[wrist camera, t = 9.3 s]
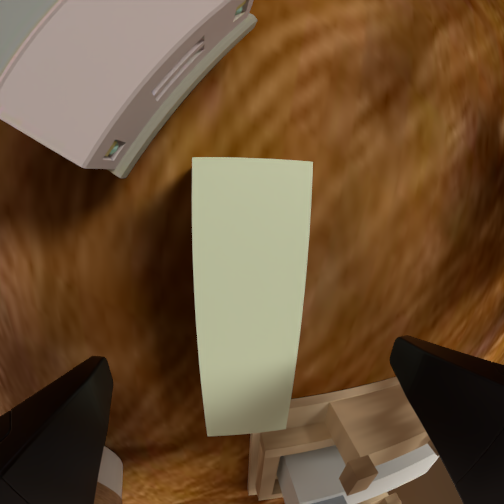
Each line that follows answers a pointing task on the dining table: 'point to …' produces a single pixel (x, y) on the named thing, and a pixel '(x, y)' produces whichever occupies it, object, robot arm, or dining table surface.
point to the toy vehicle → (108, 69)
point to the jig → (341, 436)
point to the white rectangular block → (330, 468)
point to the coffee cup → (109, 479)
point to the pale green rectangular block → (249, 286)
